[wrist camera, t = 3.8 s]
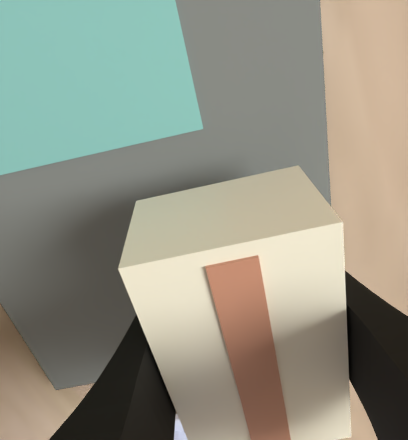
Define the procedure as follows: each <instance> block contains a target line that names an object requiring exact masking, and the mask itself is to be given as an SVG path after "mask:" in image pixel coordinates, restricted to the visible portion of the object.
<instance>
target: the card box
mask: <svg viewBox="0 0 408 440" xmlns="http://www.w3.org/2000/svg"><path fill="white" fill-rule="evenodd" d="M118 270H119V272H120V275H121V277H122V280H123V282H124V285H125V287H126V289H127V292H128V294H129V297H130V299H131V302H132V304H133V307H134V309H135V312H136V314H137V316H138V319H139V321H140V324H141V326H142V329H143V331H144V334H145V336H146V339H147V341H148V343H149V346H150V348H151V351H152V353H153V356H154V358H155V361H156V363H157V366H158V368H159V370H160V373H161V375H162V378H163V380H164V383H165V385H166V388H167V390H168V393H169V395H170V397H171V400H172V402H173V405H174V407H175V410H176V412H177V415H178V417H179V420H180V422H181V424H182V427H183V429H184V432H185V434H186V437H187V439H188V440H337V439H343V438H348V437H351V416H350V390H349V364H348V338H347V312H346V286H345V261H344V235H343V221H342V220H341V219H340V217H339V216H338V215H337V214H336V212H335V211H334V210H333V209H332V207H331V206H330V205H329V203H328V202H327V201H326V200H325V198H324V197H323V196H322V195H321V193H320V192H319V191H318V189H317V188H316V187H315V186H314V184H313V183H312V182H311V181H310V179H309V178H308V177H307V175H306V174H305V173H304V172H303V170H302V169H301V168H300V167H299V165H298V166H293V167H288V168H284V169H279V170H275V171H270V172H266V173H261V174H256V175H252V176H247V177H243V178H238V179H234V180H229V181H225V182H220V183H215V184H211V185H206V186H202V187H197V188H193V189H188V190H183V191H179V192H174V193H170V194H165V195H161V196H156V197H152V198H147V199H142V200H138V201H136V203H135V207H134V211H133V215H132V218H131V222H130V226H129V230H128V233H127V237H126V241H125V245H124V248H123V252H122V256H121V260H120V263H119V267H118Z"/></svg>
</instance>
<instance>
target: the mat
mask: <svg viewBox="0 0 408 440" xmlns="http://www.w3.org/2000/svg"><path fill="white" fill-rule="evenodd" d="M298 165H299V167H300V168H301V169H302V170H303V172H304V173H305V174H306V175H307V177H308V178H309V179H310V181H311V182H312V183H313V184H314V186H315V187H316V188H317V189H318V191H319V192H320V193H321V195H322V196H323V197H324V198H325V200H326V201H327V202H328V203H329V205H330V206H331V196H330V177H329V159H328V140H327V121H326V103H325V84H324V65H323V47H322V28H321V9H320V0H0V304H1V305H2V307H3V308H4V310H5V311H6V313H7V315H8V316H9V318H10V319H11V321H12V322H13V324H14V325H15V327H16V329H17V330H18V332H19V333H20V335H21V336H22V338H23V340H24V341H25V343H26V344H27V346H28V347H29V349H30V350H31V352H32V354H33V355H34V357H35V358H36V360H37V361H38V363H39V365H40V366H41V368H42V369H43V371H44V372H45V374H46V375H47V377H48V379H49V380H50V382H51V383H52V385H53V386H54V388H55V389H56V390H59V389H64V388H70V387H75V386H81V385H86V384H91V383H95V382H96V381H97V379H98V378H99V376H100V375H101V373H102V372H103V370H104V369H105V367H106V365H107V364H108V362H109V361H110V359H111V358H112V356H113V354H114V353H115V351H116V349H117V348H118V346H119V344H120V343H121V341H122V339H123V337H124V336H125V334H126V332H127V330H128V328H129V327H130V325H131V323H132V321H133V319H134V317H135V315H136V312H135V309H134V307H133V304H132V302H131V299H130V297H129V294H128V292H127V289H126V287H125V285H124V282H123V280H122V277H121V275H120V272H119V270H118V267H119V263H120V260H121V256H122V252H123V248H124V245H125V241H126V237H127V233H128V230H129V226H130V222H131V218H132V215H133V211H134V207H135V203H136V201H138V200H142V199H147V198H152V197H156V196H161V195H165V194H170V193H174V192H179V191H183V190H188V189H193V188H197V187H202V186H206V185H211V184H215V183H220V182H225V181H229V180H234V179H238V178H243V177H247V176H252V175H256V174H261V173H266V172H270V171H275V170H279V169H284V168H288V167H293V166H298Z"/></svg>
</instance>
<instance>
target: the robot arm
mask: <svg viewBox="0 0 408 440" xmlns="http://www.w3.org/2000/svg"><path fill="white" fill-rule="evenodd" d="M345 286H346V312H347V338H348V364H349V379H350V381H351V383H352V385H353V387H354V389H355V391H356V393H357V395H358V397H359V399H360V401H361V403H362V404H363V406H364V409H365V411H366V413H367V415H368V417H369V419H370V421H371V424H372V426H373V429H374V431H375V433H376V436H377V438H378V440H408V316H406V315H405V314H403V313H402V312H400V311H399V310H397V309H396V308H394V307H393V306H391V305H390V304H388V303H387V302H386V301H384V300H383V299H381V298H380V297H379V296H377V295H376V294H375V293H373V292H372V291H370V290H369V289H368V288H366V287H365V286H364V285H363V284H361V283H360V282H359V281H357V280H356V279H355V278H354V277H352V276H351V275H350V274H349V273H347V272H346V271H345ZM49 440H188V439H187V437H186V434H185V432H184V429H183V427H182V424H181V422H180V420H179V417H178V415H177V414H176V410H175V407H174V405H173V402H172V400H171V397H170V395H169V393H168V390H167V388H166V385H165V383H164V380H163V378H162V375H161V373H160V370H159V368H158V366H157V363H156V361H155V358H154V356H153V353H152V351H151V348H150V346H149V343H148V341H147V339H146V336H145V334H144V331H143V329H142V326H141V324H140V321H139V319H138V316H137V314H136V315H135V317H134V319H133V321H132V323H131V325H130V327H129V328H128V330H127V332H126V334H125V336H124V337H123V339H122V341H121V343H120V344H119V346H118V348H117V349H116V351H115V353H114V354H113V356H112V358H111V359H110V361H109V362H108V364H107V365H106V367H105V369H104V370H103V372H102V373H101V375H100V376H99V378H98V379H97V381H96V382H95V384H94V385H93V386H92V388H91V389H90V391H89V392H88V393H87V395H86V396H85V397H84V399H83V400H82V401H81V403H80V404H79V405H78V406H77V408H76V409H75V410H74V411H73V413H72V414H71V415H70V416H69V417H68V418H67V420H66V421H65V422H64V423H63V424H62V425H61V427H60V428H59V429H58V430H57V431H56V432H55V433H54V435H53V436H52V437H51V438H50V439H49Z"/></svg>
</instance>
